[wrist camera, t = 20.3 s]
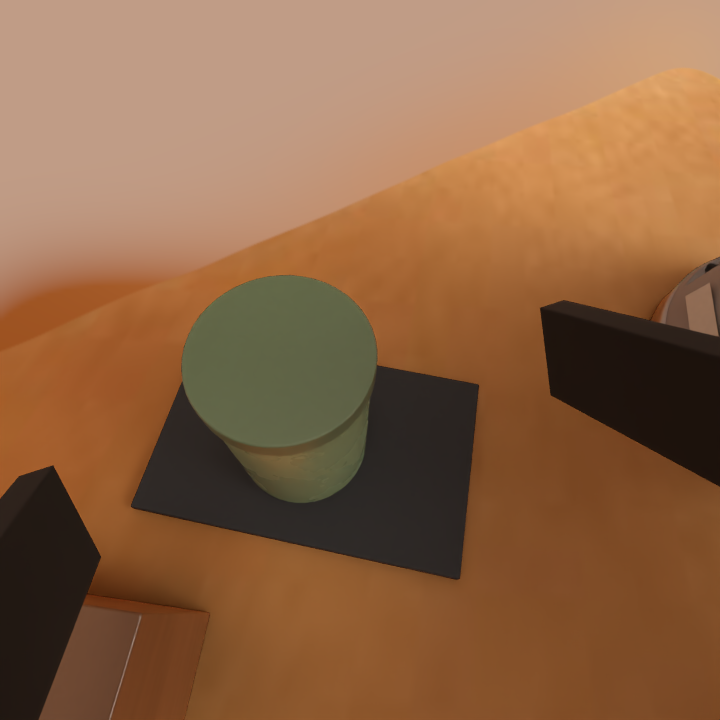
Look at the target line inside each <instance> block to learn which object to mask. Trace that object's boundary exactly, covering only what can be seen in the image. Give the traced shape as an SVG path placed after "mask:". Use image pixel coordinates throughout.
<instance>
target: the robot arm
mask: <svg viewBox="0 0 720 720" xmlns="http://www.w3.org/2000/svg"><path fill="white" fill-rule="evenodd" d="M540 311H541V319H542V327H543V335H544V344H545V352H546V360H547V368H548V377H549V385H550V393H551V396H553V397H555V398H557V399H559V400H561V401H562V402H564V403H566V404H568V405H570V406H572V407H574V408H575V409H577V410H579V411H581V412H583V413H585V414H586V415H588V416H590V417H592V418H594V419H596V420H598V421H599V422H601V423H603V424H605V425H607V426H609V427H611V428H612V429H614V430H616V431H618V432H620V433H622V434H624V435H625V436H627V437H629V438H631V439H633V440H635V441H636V442H638V443H640V444H642V445H644V446H646V447H648V448H649V449H651V450H653V451H655V452H657V453H659V454H661V455H662V456H664V457H666V458H668V459H670V460H672V461H673V462H675V463H677V464H679V465H681V466H683V467H685V468H686V469H688V470H690V471H692V472H694V473H696V474H698V475H699V476H701V477H703V478H705V479H707V480H709V481H711V482H712V483H714V484H716V485H718V486H720V257H718V258H716V259H714V260H711V261H709V262H707V263H704V264H703V265H701V266H699V267H697V268H696V269H694V270H693V271H692V272H690V273H689V274H688V275H687V276H686V277H685V278H684V279H683V280H682V281H681V282H680V283H679V284H678V285H677V286H676V287H675V288H674V289H673V290H672V291H671V292H670V293H669V294H668V295H667V296H666V297H665V298H664V299H663V300H662V301H661V303H660V304H659V305H658V307H657V309H656V310H655V312H654V314H653V316H652V319H651V321H650V320H646V319H642V318H637V317H633V316H629V315H625V314H620V313H616V312H612V311H608V310H603V309H599V308H595V307H591V306H586V305H582V304H578V303H574V302H569V301H565V300H563V301H560V302H557V303H554V304H550V305H547V306H544V307H541V308H540ZM100 558H101V556H100V554H99V552H98V550H97V548H96V546H95V544H94V542H93V541H92V539H91V537H90V535H89V533H88V531H87V529H86V527H85V525H84V523H83V521H82V520H81V518H80V516H79V514H78V512H77V510H76V508H75V506H74V504H73V502H72V500H71V499H70V497H69V495H68V493H67V491H66V489H65V487H64V485H63V483H62V481H61V479H60V478H59V476H58V474H57V472H56V470H55V468H54V466H50V467H46V468H43V469H40V470H37V471H34V472H31V473H28V474H25V475H22V476H19V477H18V478H17V479H16V480H15V482H14V483H13V484H12V485H11V487H10V488H9V489H8V490H7V491H6V493H5V494H4V495H3V496H2V497H1V499H0V720H39V717H40V715H41V712H42V710H43V707H44V704H45V702H46V699H47V696H48V694H49V691H50V689H51V686H52V683H53V681H54V678H55V676H56V673H57V670H58V668H59V665H60V663H61V660H62V657H63V655H64V652H65V649H66V647H67V644H68V642H69V639H70V636H71V634H72V631H73V629H74V626H75V623H76V621H77V618H78V616H79V613H80V610H81V608H82V605H83V602H84V600H85V597H86V595H87V592H88V589H89V587H90V584H91V582H92V579H93V576H94V574H95V571H96V569H97V566H98V563H99V561H100Z"/></svg>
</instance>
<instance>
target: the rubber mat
mask: <svg viewBox="0 0 720 720" xmlns="http://www.w3.org/2000/svg"><path fill="white" fill-rule="evenodd" d="M478 389H479V385H478V384H473V383H468V382H462V381H457V380H452V379H446V378H441V377H436V376H430V375H425V374H420V373H414V372H409V371H404V370H398V369H393V368H388V367H382V366H377V370H376V378H375V384H374V387H373V391H372V394H371V396H370V403H369V415H368V427H367V439H366V449H365V454H364V458H363V461H362V463H361V465H360V467H359V469H358V471H357V473H356V474H355V476H354V477H353V478H352V479H351V481H350V482H349V483H348V484H347V485H346V486H345V487H343V488H342V489H341V490H339V491H338V492H337V493H335V494H333V495H331V496H329V497H327V498H325V499H322V500H318V501H315V502H308V503H293V502H287V501H284V500H280V499H278V498H275V497H273V496H271V495H269V494H268V493H266V492H265V491H264V490H262V489H261V488H260V487H259V486H258V485H257V484H256V483H255V482H254V481H253V479H252V478H251V477H250V475H249V474H248V473H247V471H246V470H245V469H244V467H243V466H242V465H241V463H240V462H239V461H238V459H237V458H236V457H235V455H234V454H233V453H232V452H231V450H230V449H229V448H228V446H227V445H226V444H225V442H224V441H223V440H222V439H220V438H219V437H218V436H217V435H215V434H214V433H213V432H212V431H211V430H210V429H209V428H208V427H207V426H206V424H205V423H204V422H203V421H202V420H201V418H200V417H199V416H198V414H197V413H196V411H195V410H194V408H193V407H192V405H191V404H190V402H189V399H188V397H187V395H186V393H185V389H184V385H183V381H182V383H181V385H180V388H179V390H178V393H177V395H176V398H175V400H174V402H173V405H172V407H171V410H170V412H169V414H168V417H167V419H166V422H165V424H164V427H163V429H162V431H161V434H160V436H159V439H158V441H157V444H156V446H155V448H154V451H153V453H152V456H151V458H150V461H149V463H148V465H147V468H146V470H145V473H144V475H143V478H142V480H141V482H140V485H139V487H138V490H137V492H136V494H135V497H134V499H133V502H132V504H131V507H132V508H134V509H139V510H143V511H148V512H152V513H157V514H161V515H166V516H170V517H175V518H180V519H184V520H189V521H193V522H198V523H202V524H207V525H211V526H216V527H220V528H225V529H229V530H234V531H239V532H243V533H248V534H252V535H257V536H261V537H266V538H270V539H275V540H279V541H284V542H288V543H293V544H298V545H302V546H307V547H311V548H316V549H320V550H325V551H329V552H334V553H338V554H343V555H348V556H352V557H357V558H361V559H366V560H370V561H375V562H379V563H384V564H388V565H393V566H397V567H402V568H407V569H411V570H416V571H420V572H425V573H429V574H434V575H438V576H443V577H447V578H452V579H456V580H457V579H460V572H461V562H462V552H463V542H464V531H465V521H466V511H467V501H468V491H469V481H470V470H471V460H472V450H473V440H474V430H475V419H476V409H477V399H478Z"/></svg>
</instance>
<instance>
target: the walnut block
mask: <svg viewBox="0 0 720 720" xmlns="http://www.w3.org/2000/svg"><path fill="white" fill-rule="evenodd" d="M209 616H210V613H208V612H202V611H195V610H189V609H182V608H175V607H169V606H162V605H156V604H149V603H143V602H136V601H129V600H123V599H116V598H110V597H103V596H96V595H90V594H87V595H86V597H85V600H84V602H83V605H82V608H81V610H80V613H79V616H78V618H77V621H76V623H75V626H74V629H73V631H72V634H71V636H70V639H69V642H68V644H67V647H66V649H65V652H64V655H63V657H62V660H61V663H60V665H59V668H58V670H57V673H56V676H55V678H54V681H53V683H52V686H51V689H50V691H49V694H48V696H47V699H46V702H45V704H44V707H43V710H42V712H41V715H40V717H39V720H184V718H185V714H186V710H187V706H188V702H189V698H190V694H191V690H192V686H193V682H194V677H195V673H196V669H197V665H198V661H199V657H200V653H201V649H202V645H203V641H204V637H205V632H206V628H207V624H208V620H209Z"/></svg>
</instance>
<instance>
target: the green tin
mask: <svg viewBox="0 0 720 720" xmlns="http://www.w3.org/2000/svg"><path fill="white" fill-rule="evenodd" d="M376 370H377V345H376V339H375V336H374V332H373V329H372V327H371V325H370V323H369V321H368V319H367V317H366V316H365V314H364V313H363V311H362V310H361V309H360V308H359V306H358V305H357V304H356V303H355V302H354V301H353V300H352V299H351V298H349V297H348V296H347V295H346V294H345V293H343V292H342V291H340V290H338V289H337V288H335V287H333V286H331V285H329V284H327V283H325V282H322V281H319V280H316V279H312V278H308V277H302V276H294V275H279V276H269V277H264V278H259V279H255V280H252V281H249V282H246V283H244V284H241V285H239V286H237V287H235V288H233V289H231V290H229V291H228V292H226V293H224V294H223V295H222V296H220V297H219V298H217V299H216V300H215V301H214V302H213V303H212V304H211V305H209V306H208V307H207V308H206V309H205V311H204V312H203V313H202V314H201V315H200V316H199V318H198V319H197V321H196V322H195V324H194V325H193V327H192V329H191V331H190V333H189V335H188V337H187V340H186V343H185V346H184V350H183V355H182V366H181V372H182V381H183V385H184V389H185V393H186V395H187V397H188V399H189V402H190V404H191V405H192V407H193V408H194V410H195V411H196V413H197V414H198V416H199V417H200V418H201V420H202V421H203V422H204V423H205V424H206V426H207V427H208V428H209V429H210V430H211V431H212V432H213V433H214V434H215V435H217V436H218V437H219V438H220V439H222V440H223V441H224V442H225V444H226V445H227V446H228V448H229V449H230V450H231V452H232V453H233V454H234V455H235V457H236V458H237V459H238V461H239V462H240V463H241V465H242V466H243V467H244V469H245V470H246V471H247V473H248V474H249V475H250V477H251V478H252V479H253V481H254V482H255V483H256V484H257V485H258V486H259V487H260V488H261V489H262V490H264V491H265V492H266V493H268V494H269V495H271V496H273V497H275V498H278V499H280V500H284V501H287V502H293V503H308V502H315V501H318V500H322V499H325V498H327V497H329V496H331V495H333V494H335V493H337V492H338V491H339V490H341V489H342V488H343V487H345V486H346V485H347V484H348V483H349V482H350V481H351V479H352V478H353V477H354V476H355V474H356V473H357V471H358V469H359V467H360V465H361V463H362V461H363V458H364V454H365V449H366V439H367V427H368V415H369V403H370V396H371V394H372V391H373V387H374V384H375V378H376Z"/></svg>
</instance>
